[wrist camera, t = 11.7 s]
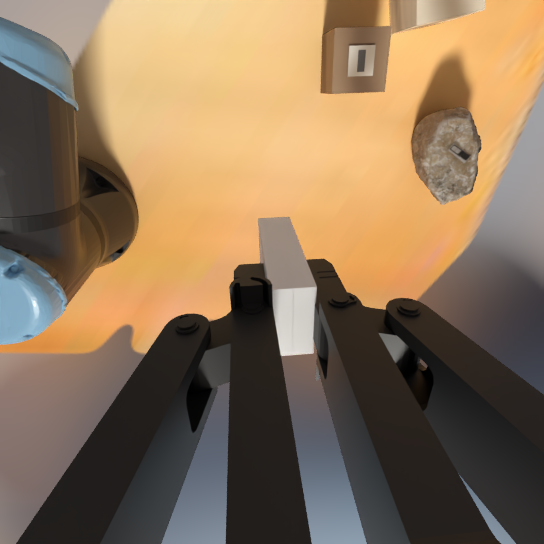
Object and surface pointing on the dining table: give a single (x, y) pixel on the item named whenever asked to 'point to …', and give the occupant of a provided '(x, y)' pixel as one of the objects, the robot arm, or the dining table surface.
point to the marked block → (355, 59)
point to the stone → (447, 153)
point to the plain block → (429, 12)
